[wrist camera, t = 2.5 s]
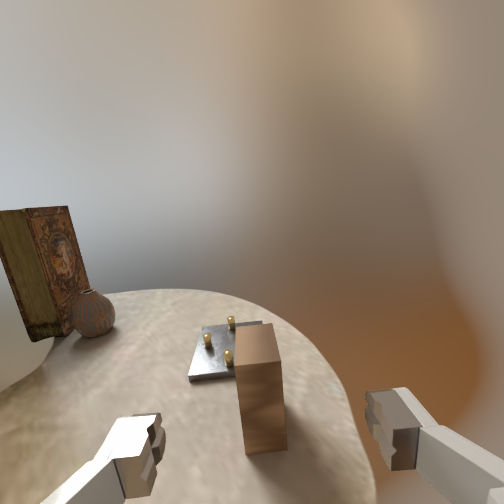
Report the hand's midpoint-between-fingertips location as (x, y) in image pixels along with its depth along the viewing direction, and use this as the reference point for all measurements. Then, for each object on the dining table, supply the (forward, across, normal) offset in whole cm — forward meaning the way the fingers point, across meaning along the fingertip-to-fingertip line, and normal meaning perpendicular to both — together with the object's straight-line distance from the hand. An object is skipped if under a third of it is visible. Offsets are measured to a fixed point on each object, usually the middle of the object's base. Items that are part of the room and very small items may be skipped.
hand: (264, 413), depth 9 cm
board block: (+13, 0, +16) cm, 20 cm away
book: (+41, +42, +15) cm, 61 cm away
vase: (+35, +32, +16) cm, 50 cm away
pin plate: (+26, +4, +15) cm, 30 cm away
